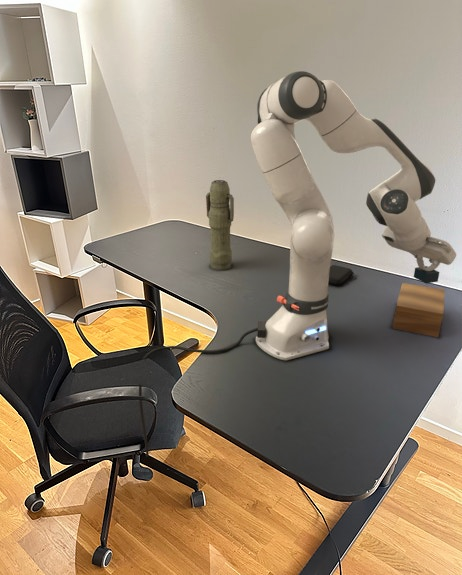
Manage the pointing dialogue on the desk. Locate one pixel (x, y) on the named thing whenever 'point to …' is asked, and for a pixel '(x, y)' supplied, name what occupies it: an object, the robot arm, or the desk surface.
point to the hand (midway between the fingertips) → (426, 259)
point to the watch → (426, 271)
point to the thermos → (220, 224)
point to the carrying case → (339, 274)
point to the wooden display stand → (419, 309)
